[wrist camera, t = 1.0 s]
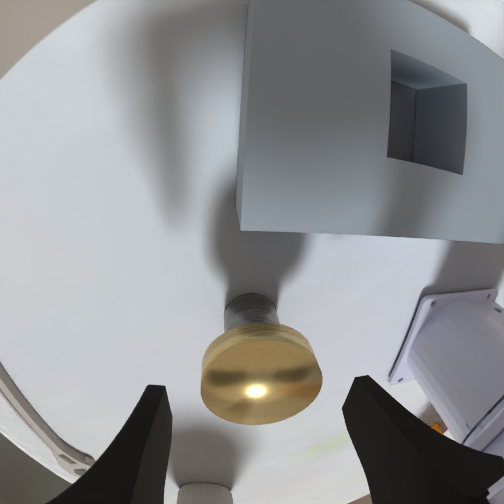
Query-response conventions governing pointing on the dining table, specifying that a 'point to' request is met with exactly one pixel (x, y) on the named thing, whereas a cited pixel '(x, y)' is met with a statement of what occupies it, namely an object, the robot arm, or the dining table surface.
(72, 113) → the dining table surface
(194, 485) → the coffee cup
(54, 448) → the adjustable wrench
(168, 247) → the dining table surface
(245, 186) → the block
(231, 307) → the brass door knob
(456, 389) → the robot arm
